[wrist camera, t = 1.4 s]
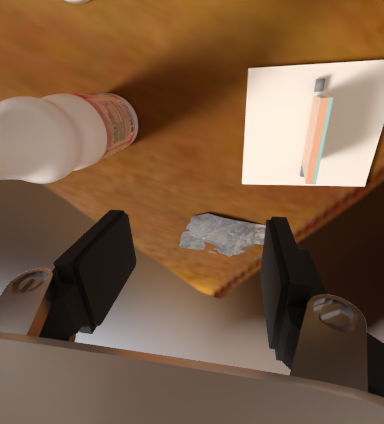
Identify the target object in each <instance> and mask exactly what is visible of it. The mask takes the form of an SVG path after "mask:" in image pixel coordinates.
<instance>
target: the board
mask: <svg viewBox="0 0 384 424" xmlns="http://www.w3.org/2000/svg"><path fill="white" fill-rule="evenodd" d="M322 95H323V96H328V97H333V102H332V107H331V112H330V117H329V122H328V126H327V131H326V136H325V141H324V146H323V151H322V156H321V161H320V166H319V171H318V176H317V181H316V184H305V178H304V173H303V167H302V161H303V155H304V149H305V143H306V137H307V131H308V125H309V119H310V113H311V107H312V101H313V96H322ZM383 124H384V60H371V61H355V62H339V63H323V64H307V65H292V66H276V67H260V68H248V82H247V100H246V118H245V136H244V154H243V172H242V184H259V185H312V186H364V187H365V184H366V181H367V177H368V174H369V171H370V167H371V164H372V161H373V158H374V154H375V151H376V148H377V144H378V141H379V138H380V134H381V131H382V128H383Z"/></svg>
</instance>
